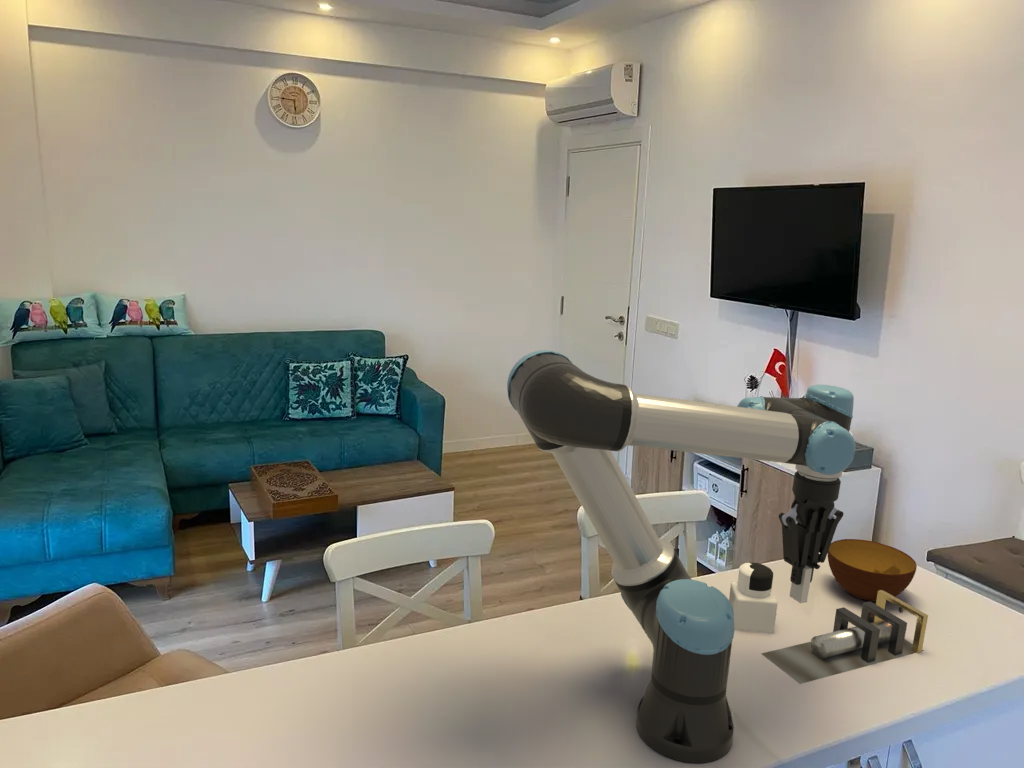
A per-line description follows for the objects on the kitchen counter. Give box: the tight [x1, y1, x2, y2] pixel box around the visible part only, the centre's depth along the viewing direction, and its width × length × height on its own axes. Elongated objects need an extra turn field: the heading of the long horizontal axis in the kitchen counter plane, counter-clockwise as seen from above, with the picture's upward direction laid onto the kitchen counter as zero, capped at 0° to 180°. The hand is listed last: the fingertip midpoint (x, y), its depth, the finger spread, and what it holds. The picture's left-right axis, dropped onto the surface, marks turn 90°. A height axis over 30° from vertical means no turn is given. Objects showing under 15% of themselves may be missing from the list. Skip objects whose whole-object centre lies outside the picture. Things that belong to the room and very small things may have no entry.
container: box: [728, 562, 778, 634], centre depth 150 cm, size 8×8×13 cm
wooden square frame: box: [874, 590, 929, 654], centre depth 146 cm, size 1×10×8 cm, turn 23°
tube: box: [810, 620, 892, 659], centre depth 143 cm, size 20×4×4 cm, turn 113°
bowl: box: [827, 538, 918, 602], centre depth 164 cm, size 18×18×10 cm
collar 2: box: [860, 601, 908, 656], centre depth 145 cm, size 2×8×6 cm, turn 23°
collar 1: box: [832, 607, 880, 663], centre depth 142 cm, size 2×8×6 cm, turn 23°
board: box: [760, 638, 924, 685], centre depth 142 cm, size 31×10×1 cm, turn 113°
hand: (798, 599), depth 134 cm, fingers closed
